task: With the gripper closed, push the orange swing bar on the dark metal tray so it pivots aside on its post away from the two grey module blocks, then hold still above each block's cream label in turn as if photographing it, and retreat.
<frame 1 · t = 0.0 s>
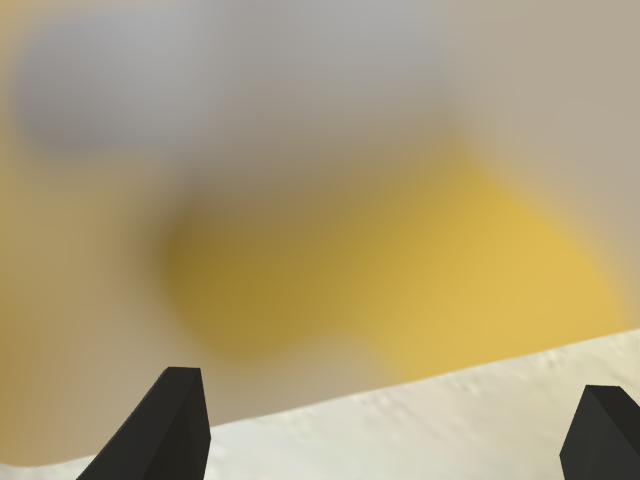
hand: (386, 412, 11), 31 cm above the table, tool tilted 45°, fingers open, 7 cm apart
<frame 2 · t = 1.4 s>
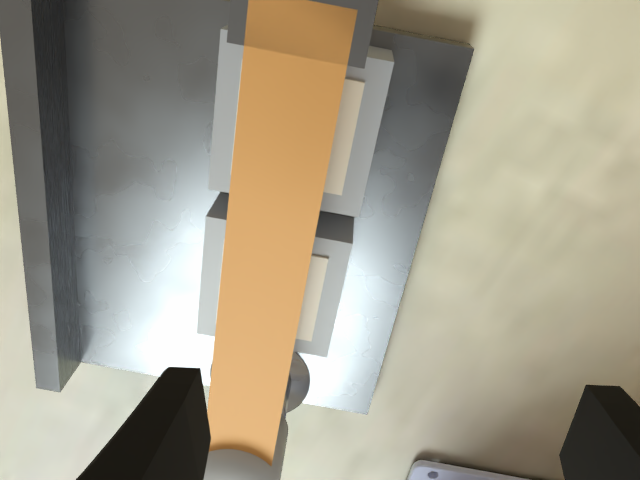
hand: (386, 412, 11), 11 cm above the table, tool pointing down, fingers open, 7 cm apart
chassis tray: (235, 219, 22), on the table
module A: (278, 262, 22), point 1 cm above the table, touching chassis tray
swing bar: (264, 295, 17), point 5 cm above the table, hinge at 0.0°
module B: (301, 112, 19), point 1 cm above the table, touching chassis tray
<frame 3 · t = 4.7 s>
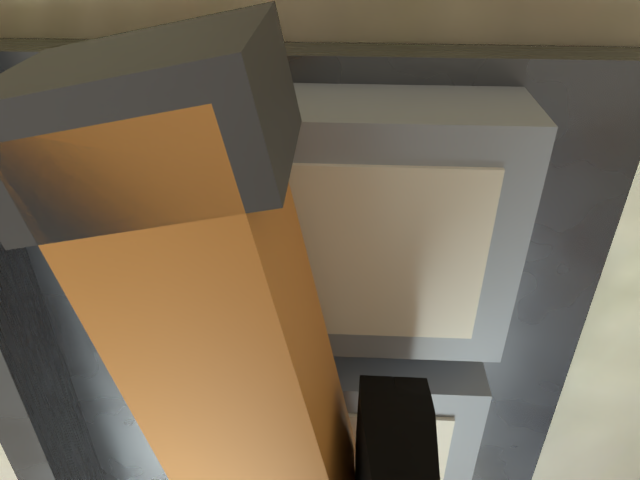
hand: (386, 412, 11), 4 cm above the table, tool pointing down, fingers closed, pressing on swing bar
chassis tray: (294, 342, 15), on the table
module A: (366, 399, 15), point 1 cm above the table, touching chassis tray
module B: (379, 202, 12), point 1 cm above the table, touching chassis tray
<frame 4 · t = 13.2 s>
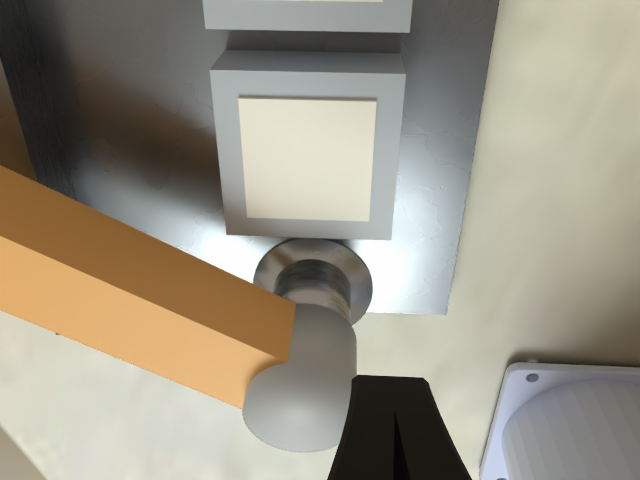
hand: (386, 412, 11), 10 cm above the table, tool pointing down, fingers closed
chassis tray: (251, 90, 18), on the table
module A: (312, 134, 17), point 1 cm above the table, touching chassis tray
swing bar: (65, 271, 15), point 5 cm above the table, hinge at 60.8°
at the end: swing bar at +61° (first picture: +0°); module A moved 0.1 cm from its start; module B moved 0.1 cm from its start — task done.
